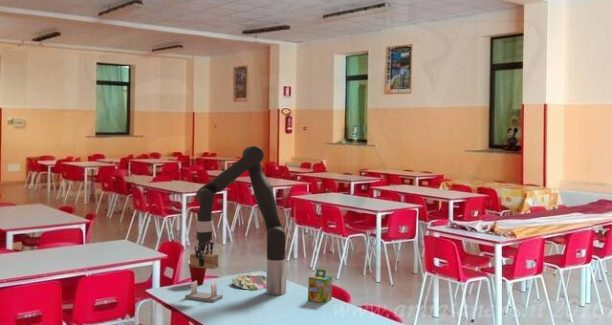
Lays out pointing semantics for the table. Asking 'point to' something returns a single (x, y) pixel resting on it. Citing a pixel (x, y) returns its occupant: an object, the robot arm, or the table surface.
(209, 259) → the brown wooden block
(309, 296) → the green yellow handled box
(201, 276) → the plastic cup
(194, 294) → the peg rack
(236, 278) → the city model
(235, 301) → the table surface
